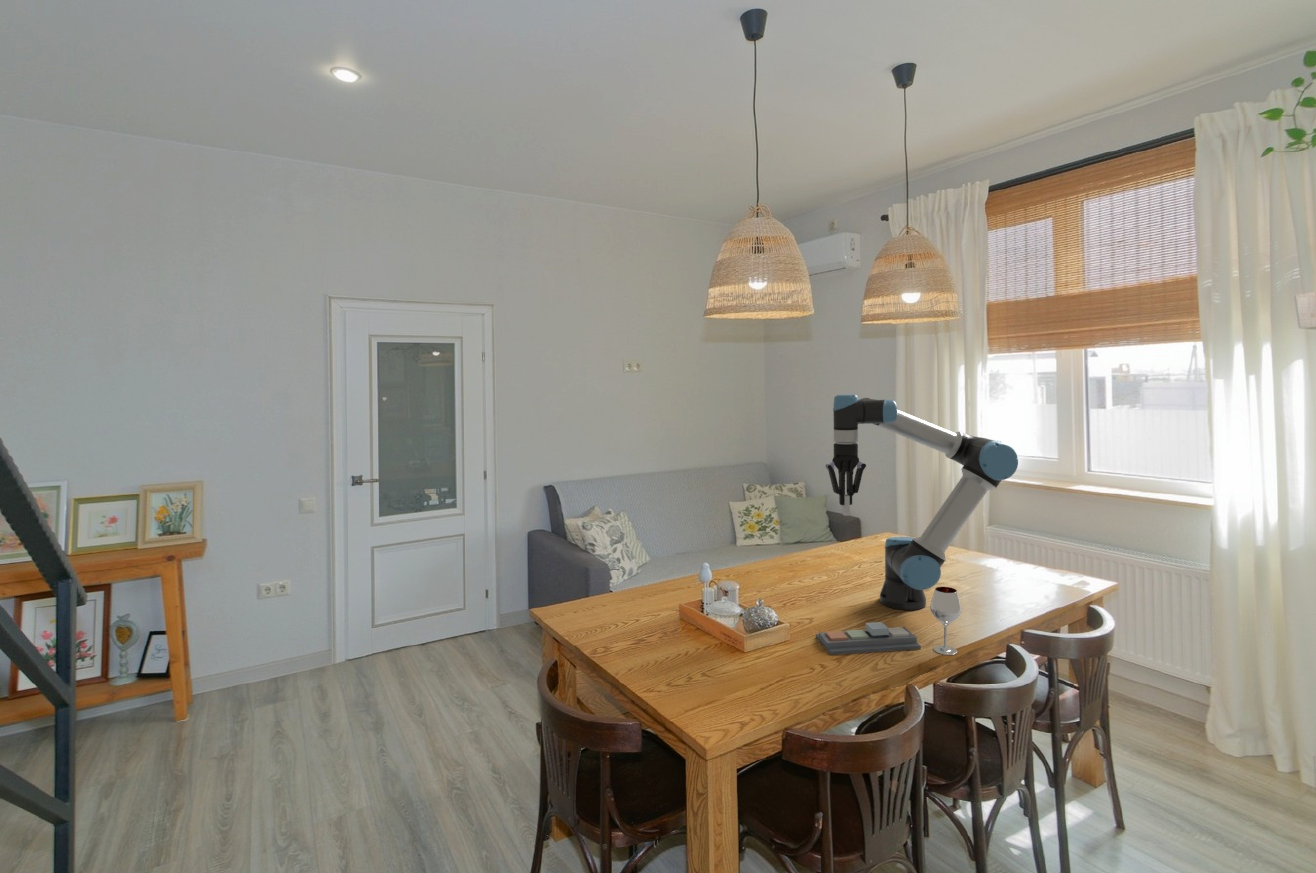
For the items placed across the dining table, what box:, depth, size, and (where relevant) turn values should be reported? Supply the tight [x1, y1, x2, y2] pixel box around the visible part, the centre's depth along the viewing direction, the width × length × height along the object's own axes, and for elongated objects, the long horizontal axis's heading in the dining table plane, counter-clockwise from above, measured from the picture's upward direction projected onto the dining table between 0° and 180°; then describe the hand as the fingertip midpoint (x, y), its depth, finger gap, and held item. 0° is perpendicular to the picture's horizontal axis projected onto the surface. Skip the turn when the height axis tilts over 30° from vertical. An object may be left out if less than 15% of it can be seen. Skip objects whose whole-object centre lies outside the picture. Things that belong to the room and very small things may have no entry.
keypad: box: [815, 626, 922, 656], centre depth 200 cm, size 27×13×2 cm, turn 95°
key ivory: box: [888, 626, 909, 637], centre depth 201 cm, size 5×5×2 cm
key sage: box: [845, 629, 868, 640], centre depth 200 cm, size 5×5×2 cm
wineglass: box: [929, 586, 962, 656], centre depth 193 cm, size 8×8×18 cm
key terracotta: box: [825, 630, 848, 641], centre depth 199 cm, size 5×5×2 cm
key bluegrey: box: [865, 621, 890, 636], centre depth 200 cm, size 5×5×2 cm
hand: (845, 514), depth 218 cm, fingers closed
